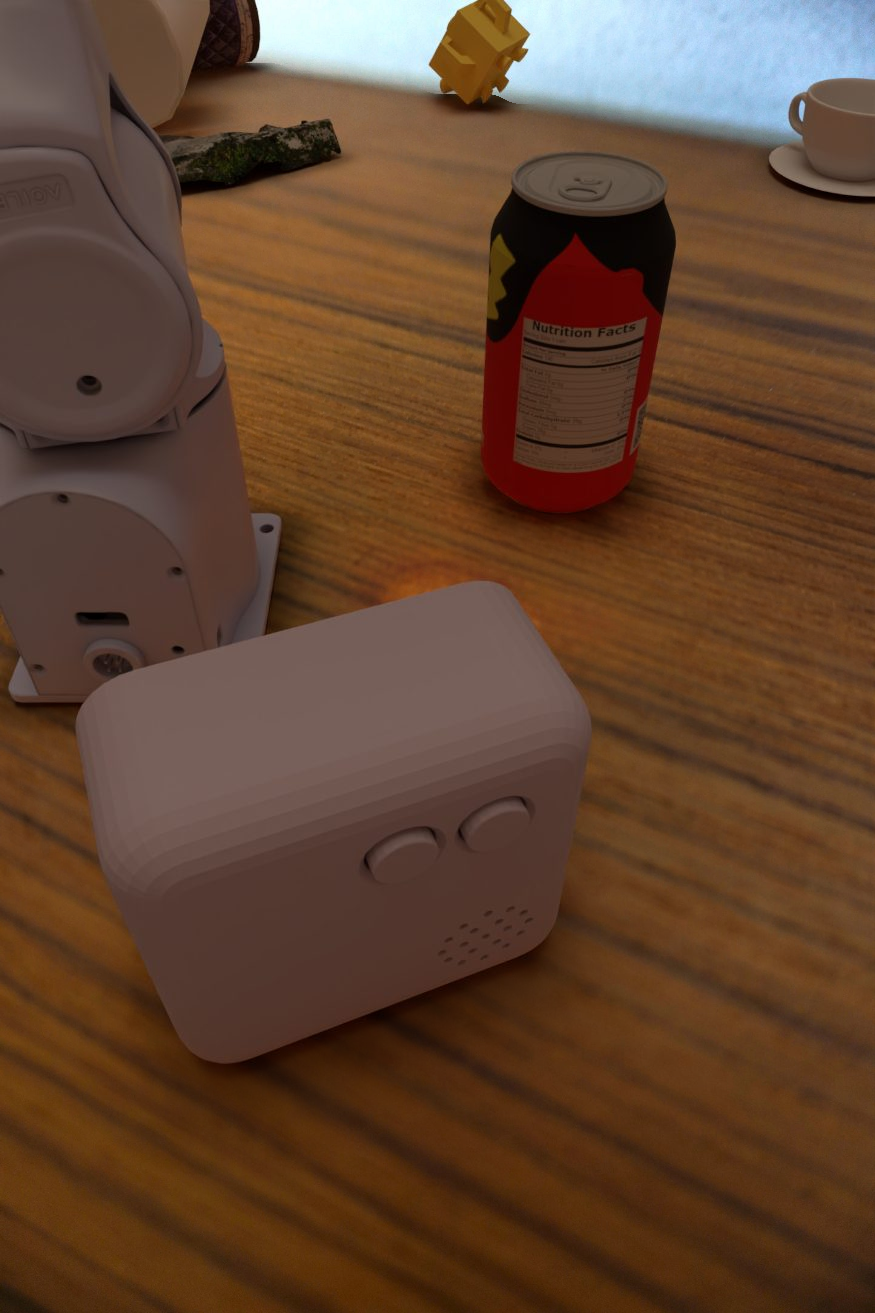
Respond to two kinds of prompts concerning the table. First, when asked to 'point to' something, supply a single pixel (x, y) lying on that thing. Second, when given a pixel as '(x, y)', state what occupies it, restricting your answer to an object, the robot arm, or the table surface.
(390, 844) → the electronic device
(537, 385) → the beverage can
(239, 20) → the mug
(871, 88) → the teacup
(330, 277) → the table surface
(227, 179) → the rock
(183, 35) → the cup
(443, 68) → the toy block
